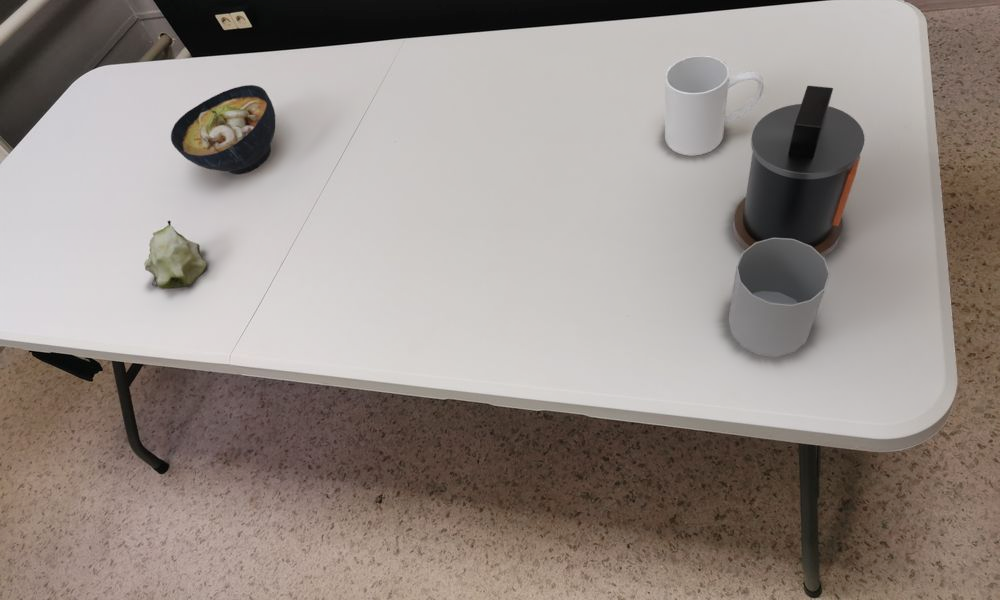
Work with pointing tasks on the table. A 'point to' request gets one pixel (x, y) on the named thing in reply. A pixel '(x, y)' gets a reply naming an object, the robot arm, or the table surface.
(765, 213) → the bin
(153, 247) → the fruit
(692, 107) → the mug
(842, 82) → the table surface
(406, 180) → the table surface
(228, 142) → the bowl
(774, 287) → the cup
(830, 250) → the disc
